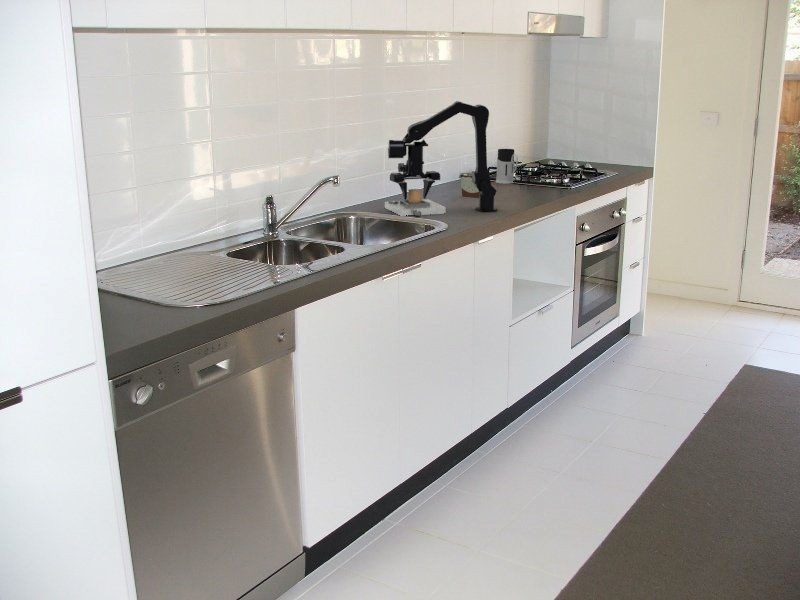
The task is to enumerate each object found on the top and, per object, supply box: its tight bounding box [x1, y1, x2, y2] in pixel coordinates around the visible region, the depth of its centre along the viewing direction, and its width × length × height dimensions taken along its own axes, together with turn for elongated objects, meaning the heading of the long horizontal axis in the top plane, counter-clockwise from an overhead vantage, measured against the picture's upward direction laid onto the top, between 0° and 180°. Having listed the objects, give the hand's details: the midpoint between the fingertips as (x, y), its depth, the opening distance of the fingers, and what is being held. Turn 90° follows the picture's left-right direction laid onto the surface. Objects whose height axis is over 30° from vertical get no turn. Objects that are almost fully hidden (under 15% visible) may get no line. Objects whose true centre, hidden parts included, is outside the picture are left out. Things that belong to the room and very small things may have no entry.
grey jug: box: [495, 148, 519, 185], centre depth 405 cm, size 9×14×15 cm, turn 24°
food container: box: [458, 171, 480, 200], centre depth 368 cm, size 12×6×10 cm, turn 59°
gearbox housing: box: [384, 198, 447, 217], centre depth 337 cm, size 21×18×4 cm
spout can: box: [407, 188, 423, 204], centre depth 339 cm, size 7×5×8 cm
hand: (414, 199), depth 338 cm, fingers open, 7 cm apart
